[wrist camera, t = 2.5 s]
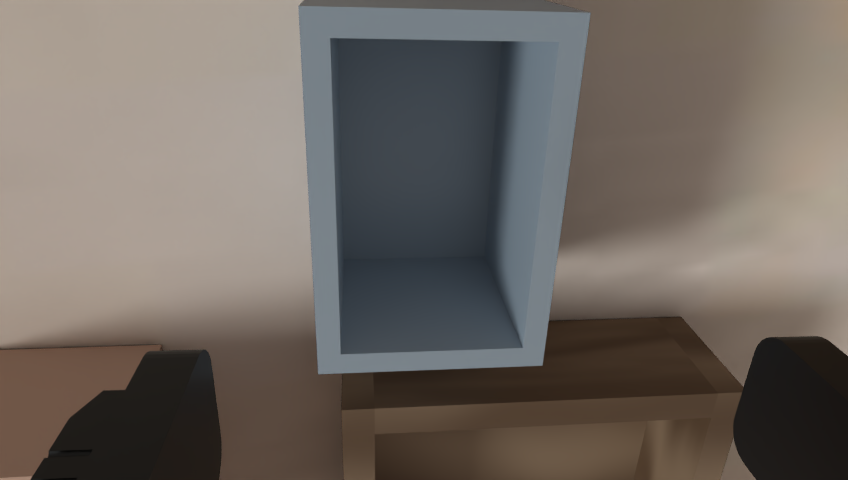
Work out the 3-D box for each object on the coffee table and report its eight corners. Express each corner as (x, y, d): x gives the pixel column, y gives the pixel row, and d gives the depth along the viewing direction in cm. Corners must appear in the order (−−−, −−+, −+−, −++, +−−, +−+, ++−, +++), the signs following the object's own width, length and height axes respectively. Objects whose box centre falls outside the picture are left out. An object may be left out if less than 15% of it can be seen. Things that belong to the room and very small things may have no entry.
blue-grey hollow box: (315, -12, 18) (298, 5, 12) (520, -6, 18) (590, 12, 13) (327, 266, 21) (318, 374, 16) (496, 263, 22) (542, 365, 17)
